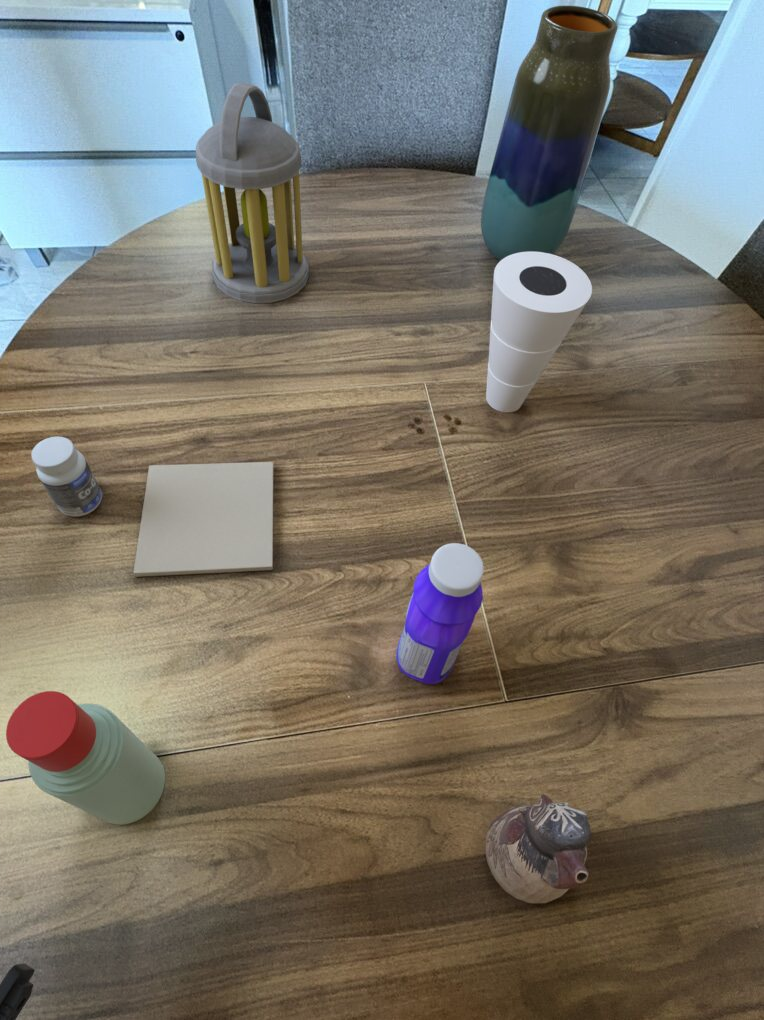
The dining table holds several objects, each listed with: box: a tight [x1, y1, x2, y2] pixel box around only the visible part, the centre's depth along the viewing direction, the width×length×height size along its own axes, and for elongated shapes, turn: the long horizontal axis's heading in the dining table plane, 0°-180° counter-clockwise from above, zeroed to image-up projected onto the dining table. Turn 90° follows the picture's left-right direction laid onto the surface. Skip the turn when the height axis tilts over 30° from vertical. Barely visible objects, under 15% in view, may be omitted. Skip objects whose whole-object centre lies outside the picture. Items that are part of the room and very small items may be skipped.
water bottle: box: [27, 703, 166, 826], centre depth 44 cm, size 6×6×18 cm
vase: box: [480, 5, 618, 262], centre depth 87 cm, size 14×14×31 cm
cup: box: [485, 252, 593, 414], centre depth 74 cm, size 11×11×18 cm
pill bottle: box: [30, 436, 103, 518], centre depth 64 cm, size 5×5×8 cm
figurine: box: [485, 794, 592, 904], centre depth 46 cm, size 7×7×12 cm
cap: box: [5, 690, 96, 772], centre depth 38 cm, size 4×4×4 cm
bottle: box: [396, 542, 485, 685], centre depth 53 cm, size 7×6×17 cm
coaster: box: [132, 461, 275, 578], centre depth 67 cm, size 14×14×1 cm
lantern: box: [195, 81, 310, 304], centre depth 82 cm, size 14×14×25 cm
